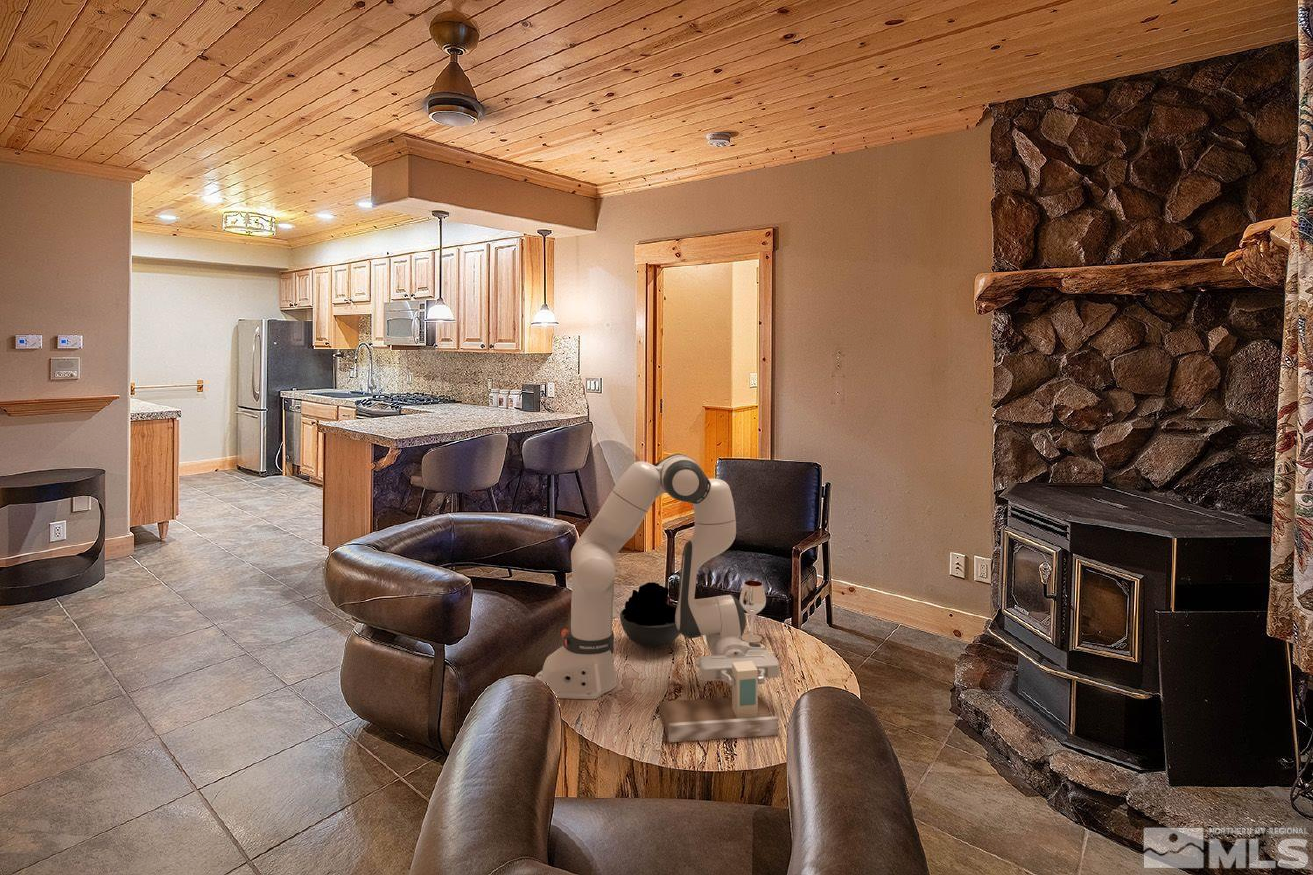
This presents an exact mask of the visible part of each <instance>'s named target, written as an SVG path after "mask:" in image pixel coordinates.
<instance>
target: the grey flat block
mask: <svg viewBox="0 0 1313 875" xmlns="http://www.w3.org/2000/svg"><path fill="white" fill-rule="evenodd" d="M764 703H765V702H764V701H763V700H762V698H761V696H760V695H758V717H753V718H742V719H737V717H736V715H735V713H734V711H733V709H732V696H731V697H715V698H714V697H713V698H700V699H699V698H698V699H697V698H696V699H681V700H680V699H679V700H664V701H663V700H662V701H659V702H658V711H659V714H660V716H661V720H662V724H663V726H664V730H665V733H666V736H667V739H668V742H669V743H676V742H693V741H695V742H696V741H708V740H722V739H723V738H725V739H736V738H751V737H752V738H753V737H765V736H766V737H767V736H778V735H779V717H778V716H775V715H771V713H770V711H769V710H768V708H767V707H766V705H765V704H764ZM723 740H724V739H723Z"/></svg>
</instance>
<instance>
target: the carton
mask: <svg viewBox="0 0 1313 875" xmlns="http://www.w3.org/2000/svg"><path fill="white" fill-rule="evenodd" d="M732 676H734V678H735V685H734V686H731V697H732V709H733V711H734V713H735V715H736V717H737V719H742V718H753V717H758V696H759V694H758V693H759V692H758V690H759V688H758V687H759V686H758V685H759V684H758V669H757V668H756V666H755V665H754V663H753V662H752V661H743V662H732Z"/></svg>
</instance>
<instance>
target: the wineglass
mask: <svg viewBox="0 0 1313 875" xmlns="http://www.w3.org/2000/svg"><path fill="white" fill-rule="evenodd" d="M741 588H742V589H741V591H740V596H739V602H740V603H741V605H742V607H743V610H744V612H746V613H747V614H749V616H750V631H749V633H745V634H743V635H742V636H741V637H740V640H742V641H745V642H749V643H755V644H757V643H759V642H761V641H762V640H763V639H762V637H761V635H758V634H754V618H755V616H756V615H757V614H759V613H760V612H762V610H763V609H764V608H765V607H766V603H767V597H766V593H765V589H764V588H765V587H764V583H763V582H762V581H758V580H746V581H744V582H743V586H742V587H741Z"/></svg>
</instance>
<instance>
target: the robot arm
mask: <svg viewBox="0 0 1313 875" xmlns="http://www.w3.org/2000/svg"><path fill="white" fill-rule="evenodd" d="M666 493H667V495H669V496H670V497H671V498H672V499H674V500H676V501H680V502H684V503H691V505H692V508H693V518H694V528H693V533H692V535H691V538H689V540H688V541H687V542H685V543H684V545H683V546H684V547H683V550H682V555H681V565H680V574H679V575H680V576H679V583H678V584H679V586H678V596H677V597H678V598H677V602H676V607H677V608H676V613H675V624H676V627H677V630H678V632H679V633H680V634H681V635H682V636H684V638H687V639H689V640H691V639H696V638H700V637H703V636H704V637H705V641H706V646H707V648H708V650H709V653H710V654H711V655H703V656H701V657H699V659H695V660H694V664H695V666H696V667H697V668H698V669H699V677H700V679H701V680H702V681H704V682H718V681H722V682H723V683H726V684H727V685H728V686H729V687H732V686H734V685H735V678H734V676H732V662H743V661H752V662H753V663H754V665H755V666H756V668H757V669H758V685H764V684H765V683H766V680H765V679H773V678H775V679H776V678H778V677H779V676H780V668H781V667H780V662H779V660H778V659H777V658H776V656H775V655H774V654H773V653H771V652H770V651H768V650H766V646H765V645H764V644H761V643H751V642H746V641H744V640H742V639H741V637H742V635H744V632H745V631H746V624H747V622H746V620H747V619H746V613H745V610H744V609H743V607H742V605H741V603H740V600H738V599H737V597H735V596H734V595H732V594H723V595H717V596H712V597H705V598H704V597H703V598H695V596H696V595H695V594H696V586H697V575H698V572H699V569H700V567H702V566H703V565H704V564H705V563H707V562H708V561H709V560H712V559H714V558H715V557H717V556H719V555H721V554H722V553H724V552H726V550H728V549H729V548H730V547H731V546H732V545H733V543H734V541H735V539H736V535H737V520H736V510H735V503H734V498H733V496H732V495H733V494H732V491H731V488H730V485H729V484H728V483H727V482H726V481H725V480H723V479H720V478H714V477H713V478H708V476H707V475H706V473H705V472H704V471H703V469H702V468H701V467H700V465H699V463H698V462H697V461H695V460H694V459H693V458H692V457H689V456H687V455H686V454H684V453H683V454H681V453H675V454H674V453H673V454H672V455H669V456H667V457H664V458H663V459H661V460H660V461H657V462H656V463H654V464H652V463H650V462H647V461H645V460H643V461H640V460H639V461H636V462H633V463H632V464H631V465H630V466H629V467H628V468H627V470H626V471H625V472H624V473H623V474H622V475H621V477H620V478H619V479H618V480H617V482H616V483H615V485H614V486H613V488H612V490H611V491H610V494H608V496H607V498H606V500H605V502H604V503H603V505H602V506H601V507H600V510H599V511H598V513H597V515H596V516H595V517H594V518H593V520H592V521H591V522H590V523H589V525H587V527H586V529H585V530H584V531H583V533H582V534H581V535H580V537H579V538H578V539H577V540H576V542H575V544H574V545H573V547H572V549H571V551H570V560H571V575H572V576H571V580H572V581H571V606H570V608H571V609H570V631H569V630H568V629H567V628H564V629H562V630H561V637H562V642H563V645H561V646H560V647H559V648H557V650H556V649H555V651H554V652H552V653H551V654H549V655H548V656H547V657H546V658H545V660H544V664H543V666H542V670H540V671H539V672H538V673H537V674H536V675H535V676H534V679H535V678H537V679H539V680H541V681H542V682H546V683H548V686H549V687H550V688H551V689H552V690H553V691H554V692H555V695H556V696H557V698H556V699H573V700H579V699H580V700H596V699H598V698H600V697H601V696H602V695H603V694H606V693H608V692H610V691H612V690H614V689H615V688H616V687H617V686H618V683H619V679H618V677H617V674H616V673H617V672H616V669H615V662H614V650H615V634H614V631H613V612H614V610H613V608H614V607H613V605H614V596H615V595H614V594H615V584H616V583H615V582H616V580H615V579H616V565H615V561H614V560H615V557H616V556H617V555H618V553H619V551H620V550H621V549H622V548H623V547H624V546H625V545H626V543H627V542H628V541H629V540H630V539H632V538H633V537H634V535H635V534H636V532H637V530H638V529H639V528H640V525H641V524H642V522H643V521H644V519H645V517H646V516H647V514H648V512H649V511H650V509H651V507H652V505H653V503H654V501H656V500H657V498H658V497H660V496H661V495H664V494H666ZM680 634H679V635H680Z"/></svg>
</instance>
